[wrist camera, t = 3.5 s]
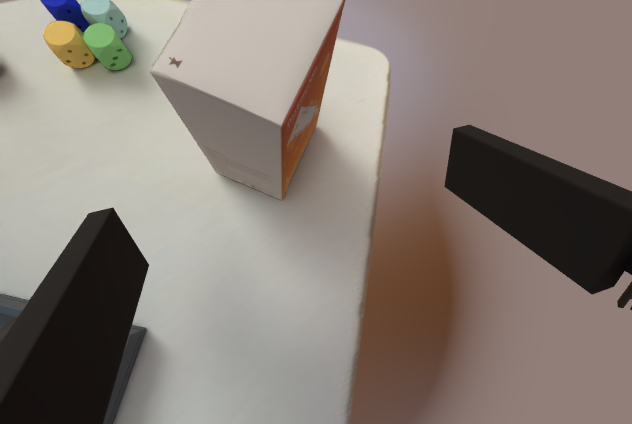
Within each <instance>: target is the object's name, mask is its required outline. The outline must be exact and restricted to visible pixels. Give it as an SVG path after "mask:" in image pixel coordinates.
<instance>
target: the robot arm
mask: <svg viewBox="0 0 632 424" xmlns="http://www.w3.org/2000/svg"><path fill="white" fill-rule="evenodd" d="M445 187H446V188H447V189H449V190H450V191H451V192H453V193H454V194H455V195H457V196H458V197H459V198H461V199H462V200H464V201H465V202H466V203H468V204H469V205H470V206H472V207H473V208H474V209H476V210H477V211H479V212H480V213H481V214H483V215H484V216H486V217H487V218H488V219H490V220H491V221H493V222H494V223H495V224H496V225H498V226H499V227H500V228H502V229H503V230H505V231H506V232H507V233H509V234H510V235H511V236H513V237H514V238H515V239H517V240H518V241H520V242H521V243H522V244H524V245H525V246H526V247H528V248H529V249H530V250H532V251H533V252H535V253H536V254H538V255H539V256H540V257H541V258H543V259H544V260H546V261H547V262H548V263H550V264H551V265H553V266H554V267H555V268H557V269H558V270H559V271H560V272H562V273H563V274H565V275H566V276H567V277H569V278H570V279H572V280H573V281H574V282H576V283H577V284H578V285H580V286H581V287H582V288H584V289H585V290H587V291H588V292H589V293H590V294H595V293H598V292H600V291H603V290H606V289H609V288H611V287H614V286H615V284H616V283H617V281H618V280H619V278H620V277H621V275H622V274H623V272H624V271H626V272H628V273H629V274H631V275H632V191H629V190H627V189H624V188H622V187H619V186H617V185H615V184H612V183H610V182H607V181H605V180H602V179H600V178H597V177H595V176H593V175H590V174H587V173H585V172H583V171H581V170H578V169H576V168H573V167H571V166H568V165H566V164H564V163H561V162H559V161H556V160H554V159H552V158H549V157H547V156H544V155H541V154H539V153H537V152H535V151H532V150H530V149H527V148H525V147H522V146H520V145H518V144H515V143H512V142H510V141H508V140H505V139H503V138H501V137H498V136H496V135H493V134H491V133H488V132H486V131H484V130H481V129H479V128H476V127H474V126H471V125H466V126H462V127H458V128H454V129H453V134H452V140H451V147H450V155H449V160H448V167H447V174H446V181H445ZM148 267H149V264H148V263H147V261H146V259H145V258H144V256H143V255H142V253H141V251H140V250H139V248H138V247H137V245H136V243H135V242H134V240H133V239H132V237H131V236H130V234H129V232H128V231H127V229H126V228H125V226H124V224H123V223H122V221H121V220H120V218H119V216H118V215H117V213H116V212H115V210H114V208H109V209H105V210H101V211H97V212H92V213H89V214H88V215H87V217H86V218H85V220H84V221H83V223H82V224H81V225H80V227H79V228H78V230H77V231H76V233H75V234H74V236H73V237H72V239H71V240H70V242H69V243H68V245H67V246H66V247H65V249H64V250H63V252H62V253H61V255H60V256H59V258H58V259H57V261H56V262H55V264H54V265H53V267H52V268H51V269H50V271H49V272H48V274H47V275H46V277H45V278H44V280H43V281H42V283H41V284H40V286H39V287H38V289H37V290H36V292H35V293H34V294H33V296H32V297H31V299H30V300H29V302H28V303H27V305H26V306H25V308H24V309H23V311H22V312H21V314H20V315H19V316H18V317H15V318H12V319H11V320H10V321H9V322H8V323H7V324H6V325H5V326H4V327H2V328H1V329H0V424H103V423H104V419H105V416H106V412H107V409H108V405H109V402H110V398H111V395H112V392H113V388H114V385H115V381H116V378H117V374H118V371H119V367H120V364H121V360H122V357H123V353H124V350H125V347H126V343H127V340H128V336H129V333H130V329H131V326H132V322H133V319H134V315H135V312H136V309H137V305H138V302H139V298H140V295H141V291H142V288H143V284H144V281H145V277H146V274H147V270H148ZM630 299H632V282H631V283H630V285H629V286H628V287H627V289H626V290H625V292H624V293H623V294H622V296H621V297H620V298H619V300H618V301H617V302H618V307H620V308H624V306H625V305H626V304H627V302H628V301H629V300H630ZM630 309H631V310H632V307H631V308H630Z"/></svg>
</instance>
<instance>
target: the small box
mask: <svg viewBox="0 0 632 424" xmlns="http://www.w3.org/2000/svg"><path fill="white" fill-rule="evenodd" d="M344 2H345V0H191V2H190V4H189V5H188V7H187V8H186V10H185V12H184V14H183V16H182V17H181V19H180V22H179V23H178V25H177V27H176V29H175V30H174V32H173V33H172V35H171V36H170V38H169V40H168V41H167V43H166V44H165V46H164V48H163V49H162V51H161V52H160V54H159V56H158V57H157V59H156V60H155V62H154V63H153V65H152V66H151V68H150V73H151V74H152V76H153V77H154V79H155V80H156V82H157V83H158V85H159V86H160V88H161V89H162V91H163V92H164V94H165V95H166V97H167V98H168V100H169V101H170V103H171V104H172V106H173V107H174V109H175V110H176V112H177V113H178V115H179V116H180V118H181V120H182V121H183V123H184V124H185V126H186V127H187V129H188V130H189V132H190V133H191V135H192V136H193V138H194V139H195V141H196V142H197V144H198V146H199V147H200V149H201V150H202V152H203V153H204V155H205V156H206V158H207V159H208V161H209V162H210V164H211V165H212V167H213V168H214V170H215V171H216V172H217V173H219V174H221V175H224V176H226V177H228V178H231V179H233V180H235V181H237V182H240V183H242V184H245V185H247V186H249V187H252V188H254V189H256V190H259V191H261V192H263V193H265V194H268V195H270V196H272V197H275V198H277V199H279V200H283V199H284V196H285V194H286V191H287V188H288V186H289V184H290V181H291V179H292V177H293V175H294V172H295V170H296V168H297V166H298V163H299V161H300V159H301V157H302V155H303V153H304V150H305V148H306V146H307V144H308V142H309V140H310V138H311V135H312V133H313V131H314V129H315V127H316V125H317V121H318V116H319V112H320V107H321V102H322V98H323V94H324V89H325V85H326V80H327V76H328V72H329V67H330V63H331V59H332V54H333V49H334V45H335V41H336V36H337V32H338V28H339V23H340V19H341V15H342V10H343V6H344Z"/></svg>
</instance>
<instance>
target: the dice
mask: <svg viewBox="0 0 632 424" xmlns="http://www.w3.org/2000/svg"><path fill="white" fill-rule="evenodd" d="M41 2H42V3H43V4H44V6H45V7H46V8H47V9H48V11H49V12H50V13H51V14H52V15H53V17H54V18H55V19H56V20H57V21H55V22H52V23H50V24H49V25H48V26H47V27H46V28H45V30H44V34H43V37H44V39H45V41H46V43H47V44H48V46H49V47H50V49H51V50H52V51H53V52H54V54H55V55H56V56H57V57H58V58H59V59H60V60H61V61H62V62H63V63H64V64H65V65H67V66H70V67H74V68H85V67H88V66H90V65H91V64H92V63H93V62H94V60H95V58H97V59H98V60H99V61H100V62H101V64H102V65H103V66H104V67H105V68H107V69H111V70H120V69H123V68H125V67H126V66H128V64H129V63H130V61H131V58H132V55H131V54H130V52H129V51H128V49H127V48H126V46H125V45H124V44H123V42H122V41H121V39H120V38H122V37H124V36H125V34H126V32H127V21H126V18H125V16H124V15H123V13H122V12H121V11H120V10H119V8H118V7H117V6H116V5H115V4H114V3H113V2H112V1H111V0H82V1H81V6H80V4H79V3H78V2H77V1H76V0H41ZM89 24H91V26H89ZM88 26H89V27H88ZM84 30H85V32H84V34H83V33H82V31H84Z"/></svg>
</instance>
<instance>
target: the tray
mask: <svg viewBox="0 0 632 424" xmlns="http://www.w3.org/2000/svg"><path fill="white" fill-rule="evenodd" d="M28 302H29V301H28V300H24V299H20V298H16V297H11V296H7V295H3V294H0V329H1V328H2V327H4V326H5V325H6V324H7V323H8V322H9V321H10V320H11V319H12V318H15V317H18V316H19V315H20V314H21V312H22V311H23V309H24V308H25V306H26V305H27V303H28ZM145 331H146V328H143V327H139V326H134V325H132V326H131V329H130V333H129V336H128V340H127V343H126V347H125V350H124V353H123V357H122V360H121V364H120V367H119V371H118V374H117V378H116V381H115V385H114V388H113V392H112V395H111V398H110V402H109V405H108V409H107V412H106V416H105V419H104V423H103V424H113V421H114V418H115V415H116V412H117V410H118V407H119V404H120V401H121V398H122V396H123V393H124V390H125V387H126V384H127V381H128V379H129V376H130V373H131V370H132V367H133V365H134V362H135V359H136V356H137V353H138V350H139V348H140V345H141V342H142V339H143V336H144V334H145Z"/></svg>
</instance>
